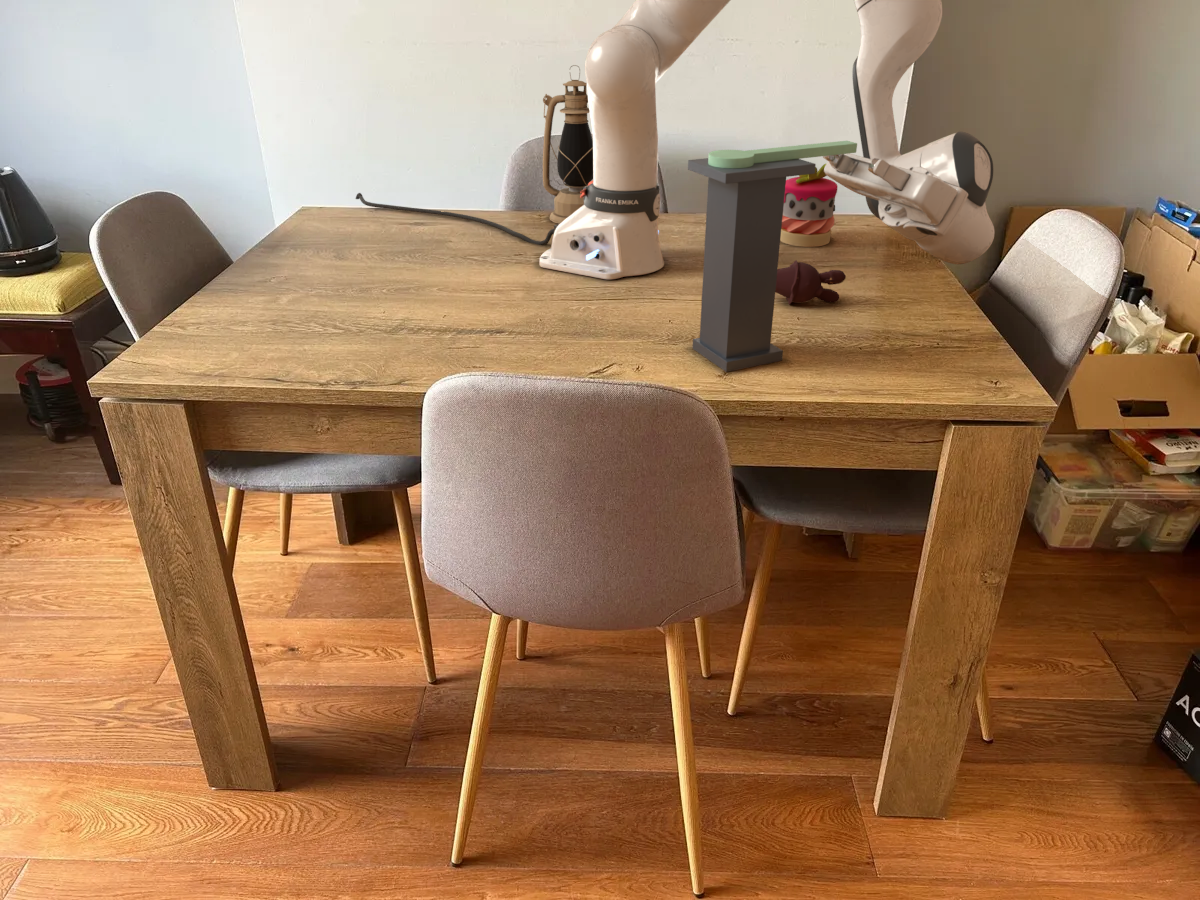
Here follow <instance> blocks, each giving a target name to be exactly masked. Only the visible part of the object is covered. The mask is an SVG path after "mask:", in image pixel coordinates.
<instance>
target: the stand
mask: <svg viewBox="0 0 1200 900" xmlns="http://www.w3.org/2000/svg"><path fill="white" fill-rule="evenodd" d="M816 165H817V164H816V163H814V162H811V161H807V160H805V159H802V158H801V159H792V160H783V161H773V162H764V163H754V165H753V166H751V167H747V168H738V169H729V168H718V167H713V166H711V165H709V164H708V157H706V158H694V159H688V160H687V170H688V171H690V172H693V173H696V174H699V175H701V176H703V177H706V178H707V197H706V213H705V214H706V216H705V230H704V231H705V233H704V252H703V268H702V269H703V270H702V288H701V309H700V324H699V337H697V338H692V350H693V351H695V352H697V353H698V354H699V355H701V356H702V357H704V358H705V359H707V360H708V361H710V362H711V363H712V364H713V365H715V366H717V367H718V368H720V370H723V371H724V372H726V373H729V372H733V371H737V370H738V371H739V370H743V369H747V368H754V367H757V366H763V365H767V364H772V363H777V362H781V361H783V356H784V355H783V354H784V350H783V349H781V348H779V347H778V346H776V345H774V344H773V343H771V341H772V331H773V321H774V310H775V299H776V292H775V290H776V280H777V269H779V258H780V247H781V241H780V238H781V227H782V217H783V207H784V196H785V186H786V180H787V177H788V178H789V177H794V176H795V177H799V175H806V174H814V173H815V167H816Z"/></svg>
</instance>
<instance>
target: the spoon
mask: <svg viewBox="0 0 1200 900" xmlns="http://www.w3.org/2000/svg"><path fill="white" fill-rule="evenodd" d="M857 149H858V143H857V142H854V141H850V140H839V141H828V142H818V143H810V144H809V143H807V144H797V145H789V146H778V147H769V148H768V147H767V148H760V149H748V150H743V149H741V150H740V149H718V150H713V151H710V152H708V154H707V155H708V156H707V158H708V164H709V165H711V166H713V167H718V168H729V169H738V168H747V167H751V166H753V165H754V163H764V162H773V161H783V160H792V159H801V160H802V159H809V158H820V157H823V156H830V155H839V154H848V153H850V154H856V153H857Z"/></svg>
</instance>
